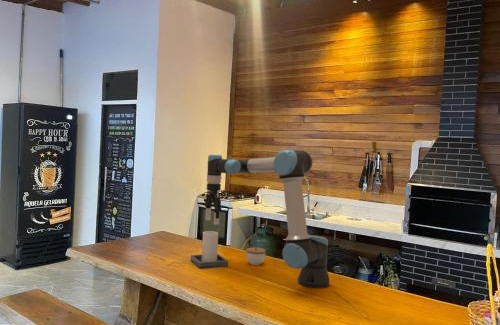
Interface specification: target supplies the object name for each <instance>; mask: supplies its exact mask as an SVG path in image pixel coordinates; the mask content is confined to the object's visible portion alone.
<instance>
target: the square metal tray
mask: <svg viewBox="0 0 500 325" xmlns="http://www.w3.org/2000/svg"><path fill="white" fill-rule="evenodd" d="M190 262H191V263H192V264H193V265H195V266H196V268H198V269H199V270H200V269H201V270H202V269H215V268H229V260H227V259H226V258H225V257H224V256H222V255H220V254H219V253H217V261H215V262H202V254H191V255H190Z"/></svg>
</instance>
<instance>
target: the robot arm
mask: <svg viewBox="0 0 500 325" xmlns="http://www.w3.org/2000/svg"><path fill="white" fill-rule="evenodd" d="M313 162H314V161H313V158H312V156H311V155H310V153H309V152H307V151H305V150H303V149H302V150H301V149H300V150H298V149H297V150H296V149H284V150H281V151H279V152H278V153H276V155H275V156H273V157H260V158H245V159H234V158H233V159H231V158H229V159H228V158H223V155H221V154H209V155H208V157H207V173H206V174H207V175H206V183H207V184H206V197H205V201H204V202H205V203H204V207H205V221H211V218H212V205H213V208H214V211H213V213H214V214H213V225H216V226H218V225H220V213H221V212H222V211H223V210H222V205H221V204H222V202H221V194H220V191H221V186H222V185H221V183H222V174H229V175H237V174H254V173H273V172H274V173H275V172H276V173H277V175H278V177H279V178H278V179H279V181H280V182H281V183H282V184H283V193H284V204H285V213H286V222H287V232H288V234H287V236H286V238H285V244H286V245H284V248H283V249H282V253H281V255H282V258H283V260H284V262H285V265H287V266H288V267H290V268H291V269H295V270H296V269H297V270H298V269H300V272H299V275H298V277H297V283H298V284H299V285H300V286H303V287H305V288H306V287H307V288H312V289H325V288H328V287H329V286H330V277H329V273H328V269H327V268H328V267H327V266H328V250H329V239H328V238H326V237H324V236H319V235H313V234H309V233H308V228H307V226H308V225H307V219H306V217H307V216H306V209H305V199H304V192H303V191H304V190H303V180H304V179H305V178H306V177H305V174H308V172H310V171H311V169H312V167H313ZM218 192H219V193H218Z"/></svg>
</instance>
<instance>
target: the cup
mask: <svg viewBox="0 0 500 325" xmlns="http://www.w3.org/2000/svg"><path fill="white" fill-rule="evenodd" d="M218 243H219V232H218V231H214V230H212V231H211V230H208V231H207V230H206V231H202V246H201V248H202V249H201V255H202V262H215V261H217V254H218V247H219V246H218V245H219V244H218Z"/></svg>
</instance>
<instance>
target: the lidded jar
mask: <svg viewBox="0 0 500 325" xmlns="http://www.w3.org/2000/svg"><path fill="white" fill-rule="evenodd" d="M245 251H246V255H245V256H246V260H247V262H248V263H249V264H250V265H252V266H260V265H261V264H262V263H263V262H264V260H265V257H266V249H264V248H261V247H258V246H254V247H248V248H246V249H245Z"/></svg>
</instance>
